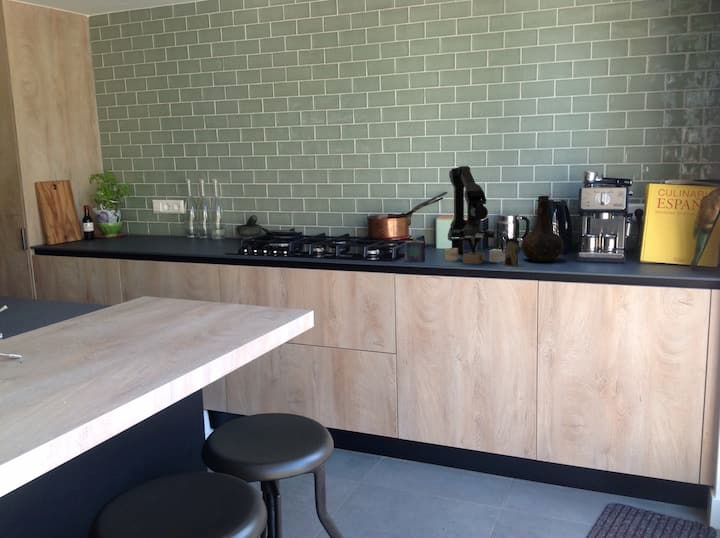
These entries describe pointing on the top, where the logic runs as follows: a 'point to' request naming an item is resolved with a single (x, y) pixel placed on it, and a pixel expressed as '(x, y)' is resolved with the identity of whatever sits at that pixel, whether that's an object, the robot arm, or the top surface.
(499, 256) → the grey block marked
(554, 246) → the brown bottle vase
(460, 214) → the robot arm
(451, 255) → the beech block marked
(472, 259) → the walnut block
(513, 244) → the mug
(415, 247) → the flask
